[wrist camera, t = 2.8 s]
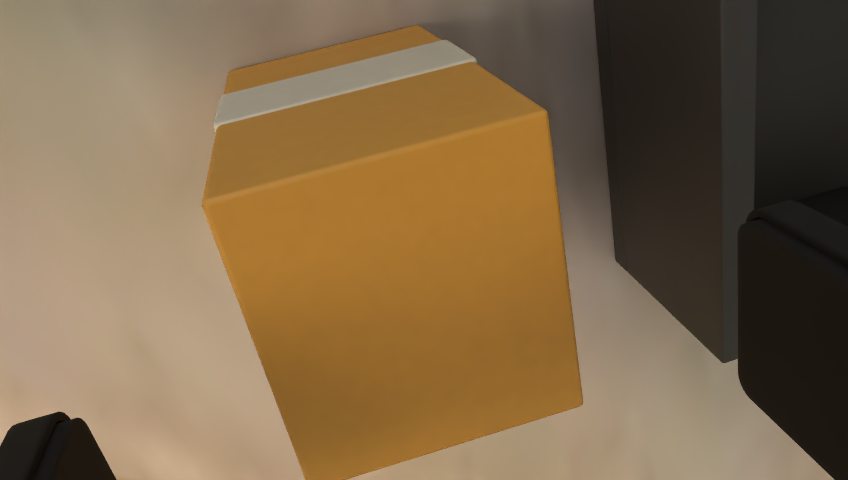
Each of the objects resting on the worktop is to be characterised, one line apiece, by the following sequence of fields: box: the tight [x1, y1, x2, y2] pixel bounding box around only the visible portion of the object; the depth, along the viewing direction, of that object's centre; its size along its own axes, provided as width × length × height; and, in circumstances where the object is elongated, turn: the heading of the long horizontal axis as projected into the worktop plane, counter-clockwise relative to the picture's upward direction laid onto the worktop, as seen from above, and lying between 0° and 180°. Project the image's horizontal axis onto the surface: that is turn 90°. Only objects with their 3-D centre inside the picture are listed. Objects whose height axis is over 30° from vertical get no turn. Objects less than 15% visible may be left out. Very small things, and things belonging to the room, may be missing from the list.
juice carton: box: [202, 25, 583, 480], centre depth 15 cm, size 6×5×9 cm
